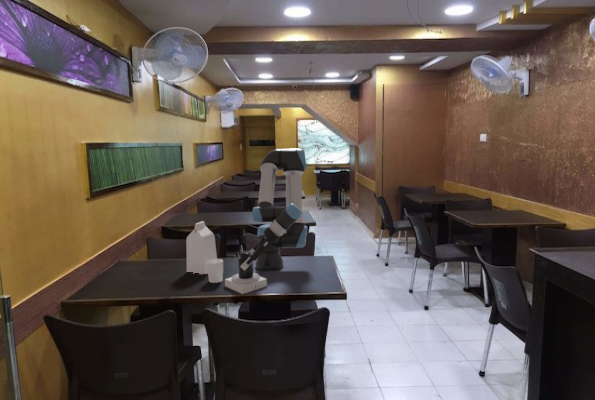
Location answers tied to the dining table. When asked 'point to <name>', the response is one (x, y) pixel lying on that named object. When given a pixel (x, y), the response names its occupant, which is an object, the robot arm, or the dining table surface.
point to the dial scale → (245, 283)
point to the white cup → (215, 270)
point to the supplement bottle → (249, 271)
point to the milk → (200, 248)
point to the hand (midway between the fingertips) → (243, 264)
